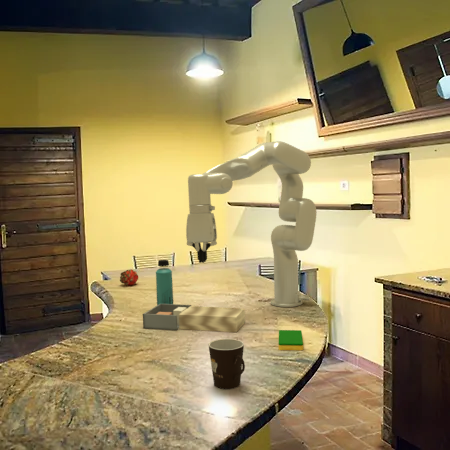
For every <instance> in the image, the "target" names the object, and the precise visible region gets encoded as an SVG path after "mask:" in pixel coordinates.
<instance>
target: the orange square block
mask: <svg viewBox="0 0 450 450" xmlns="http://www.w3.org/2000/svg"><path fill="white" fill-rule="evenodd" d="M157 314H161V315H172V312H158V313H157Z"/></svg>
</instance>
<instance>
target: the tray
mask: <svg viewBox="0 0 450 450" xmlns="http://www.w3.org/2000/svg"><path fill="white" fill-rule="evenodd" d="M190 306H192V305H191V304H178V303H177V304H176V303H175V304H174V303H173V304H159V305H157V304H156V306H154V307H151V309H148V310H147V311H146V312H144V313H142V326H143V329H145V330H147V329H148V330H164V331H165V330H167V331H178V330H180V329H179V325H177V315H173V310H175V309H176V308H178V307H187V308H189V307H190ZM158 312H172V315H161V314H157V313H158Z"/></svg>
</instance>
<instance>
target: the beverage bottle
mask: <svg viewBox="0 0 450 450" xmlns="http://www.w3.org/2000/svg"><path fill="white" fill-rule="evenodd" d="M157 263H158V264H157V267H161V268H158V269H157V270H156V271H155V283H156V286H155V287H156V288H155V290H156V293H155V295H156V306H157V305H159V304H174V300H175V299H174V291H173V290H174V289H173V288H174V287H173V285H174V284H173V271H172V270H171V269H170V268H168V266H170V264H169V260H168V259H160V260H158V262H157ZM162 267H163V268H162Z"/></svg>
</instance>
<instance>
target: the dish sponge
mask: <svg viewBox="0 0 450 450" xmlns="http://www.w3.org/2000/svg"><path fill="white" fill-rule="evenodd" d="M303 339H304V338H303V333H302V330H298V329H296V330H295V329H292V330H291V329H278V350H279V351H303V350H304V340H303Z"/></svg>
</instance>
